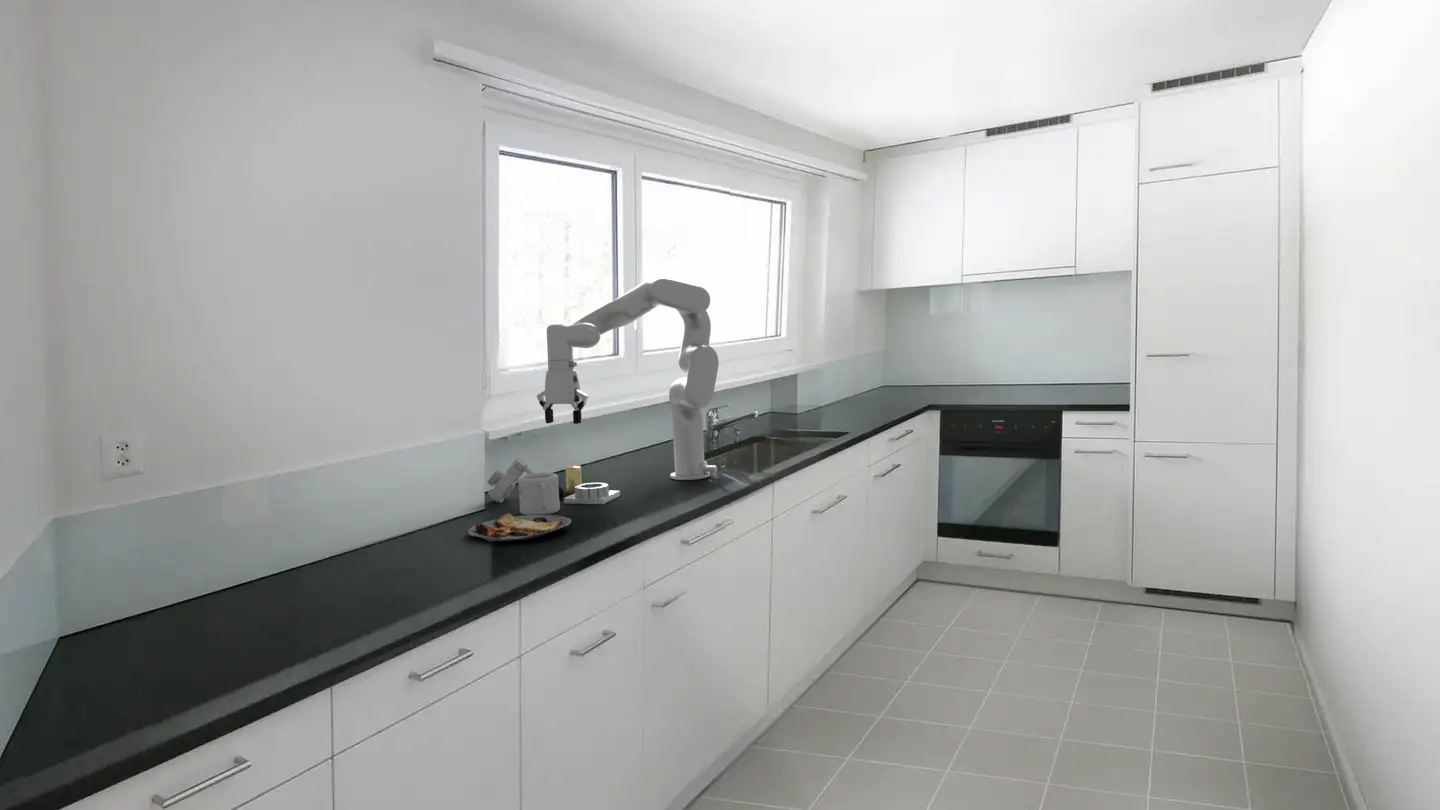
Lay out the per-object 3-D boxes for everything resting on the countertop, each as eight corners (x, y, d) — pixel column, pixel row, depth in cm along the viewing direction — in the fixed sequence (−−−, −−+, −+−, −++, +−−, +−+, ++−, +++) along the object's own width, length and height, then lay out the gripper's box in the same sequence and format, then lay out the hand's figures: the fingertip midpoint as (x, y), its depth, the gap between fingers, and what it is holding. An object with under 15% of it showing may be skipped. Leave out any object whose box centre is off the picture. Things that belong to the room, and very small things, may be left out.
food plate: (448, 540, 236) (447, 526, 236) (514, 520, 256) (513, 507, 256) (525, 549, 224) (524, 534, 223) (588, 527, 243) (587, 514, 243)
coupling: (584, 490, 294) (583, 465, 293) (578, 493, 289) (576, 468, 289) (570, 490, 295) (569, 465, 294) (564, 492, 291) (562, 468, 290)
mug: (516, 510, 268) (514, 474, 267) (555, 506, 272) (553, 470, 271) (526, 519, 255) (523, 482, 254) (566, 514, 259) (564, 477, 258)
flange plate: (620, 495, 282) (619, 482, 282) (603, 504, 271) (602, 490, 271) (582, 495, 286) (581, 481, 286) (564, 503, 275) (563, 489, 274)
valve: (532, 536, 278) (562, 497, 275) (476, 493, 277) (506, 454, 274) (541, 525, 288) (571, 487, 285) (488, 484, 287) (517, 446, 284)
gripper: (592, 365, 288) (594, 422, 290) (543, 365, 295) (546, 421, 297) (579, 366, 281) (581, 425, 283) (529, 366, 288) (531, 424, 290)
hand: (563, 423), depth 290 cm, fingers open, 9 cm apart
